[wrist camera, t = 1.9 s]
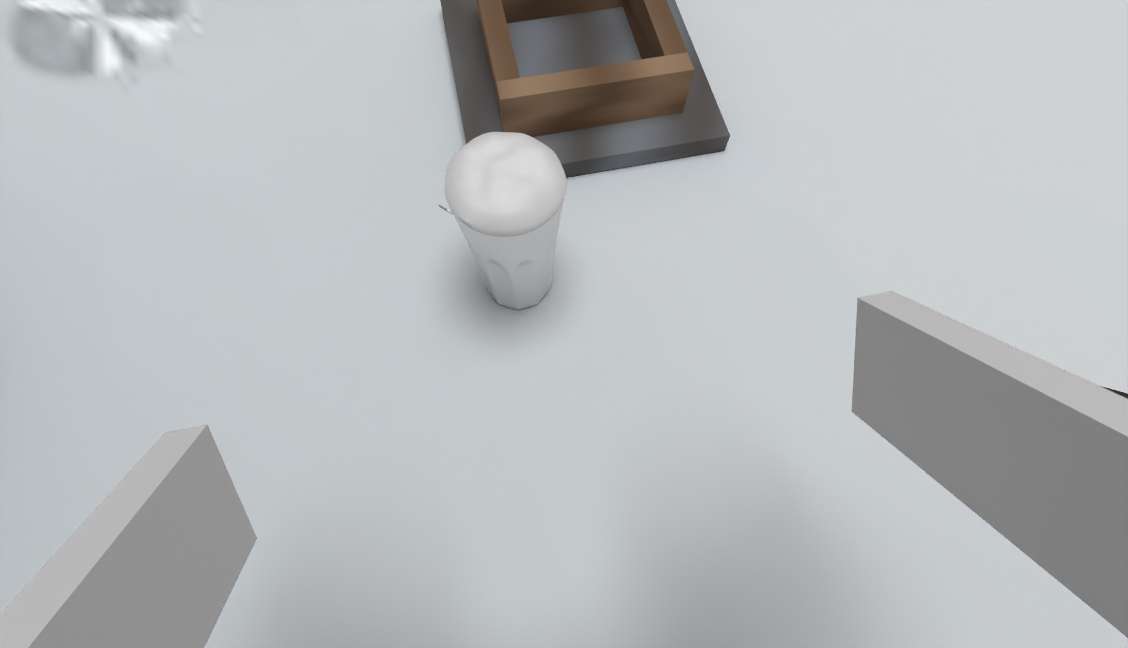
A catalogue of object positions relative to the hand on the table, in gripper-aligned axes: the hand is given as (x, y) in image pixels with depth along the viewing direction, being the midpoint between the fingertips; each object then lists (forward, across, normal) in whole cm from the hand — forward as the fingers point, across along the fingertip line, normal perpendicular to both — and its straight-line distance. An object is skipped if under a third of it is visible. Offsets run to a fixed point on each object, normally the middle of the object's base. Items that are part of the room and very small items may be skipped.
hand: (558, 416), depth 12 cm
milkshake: (+18, 0, -3) cm, 18 cm away
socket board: (+27, +6, +6) cm, 28 cm away
